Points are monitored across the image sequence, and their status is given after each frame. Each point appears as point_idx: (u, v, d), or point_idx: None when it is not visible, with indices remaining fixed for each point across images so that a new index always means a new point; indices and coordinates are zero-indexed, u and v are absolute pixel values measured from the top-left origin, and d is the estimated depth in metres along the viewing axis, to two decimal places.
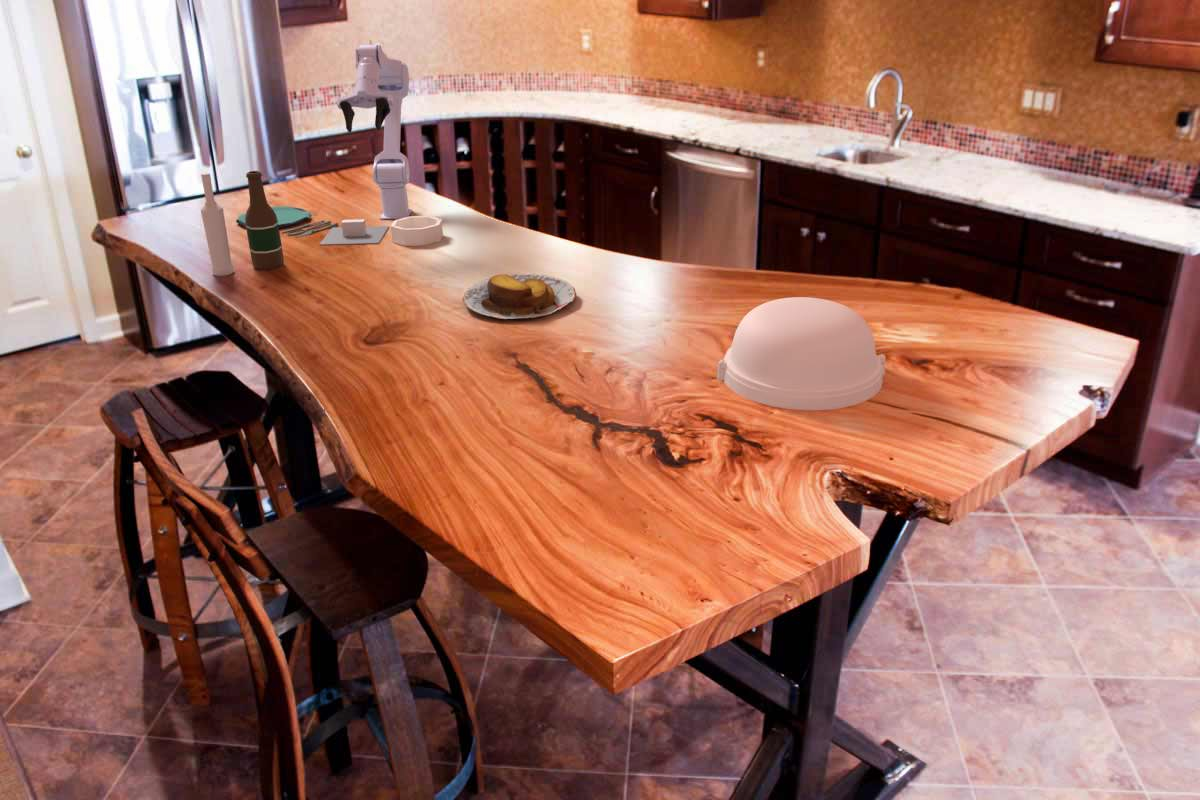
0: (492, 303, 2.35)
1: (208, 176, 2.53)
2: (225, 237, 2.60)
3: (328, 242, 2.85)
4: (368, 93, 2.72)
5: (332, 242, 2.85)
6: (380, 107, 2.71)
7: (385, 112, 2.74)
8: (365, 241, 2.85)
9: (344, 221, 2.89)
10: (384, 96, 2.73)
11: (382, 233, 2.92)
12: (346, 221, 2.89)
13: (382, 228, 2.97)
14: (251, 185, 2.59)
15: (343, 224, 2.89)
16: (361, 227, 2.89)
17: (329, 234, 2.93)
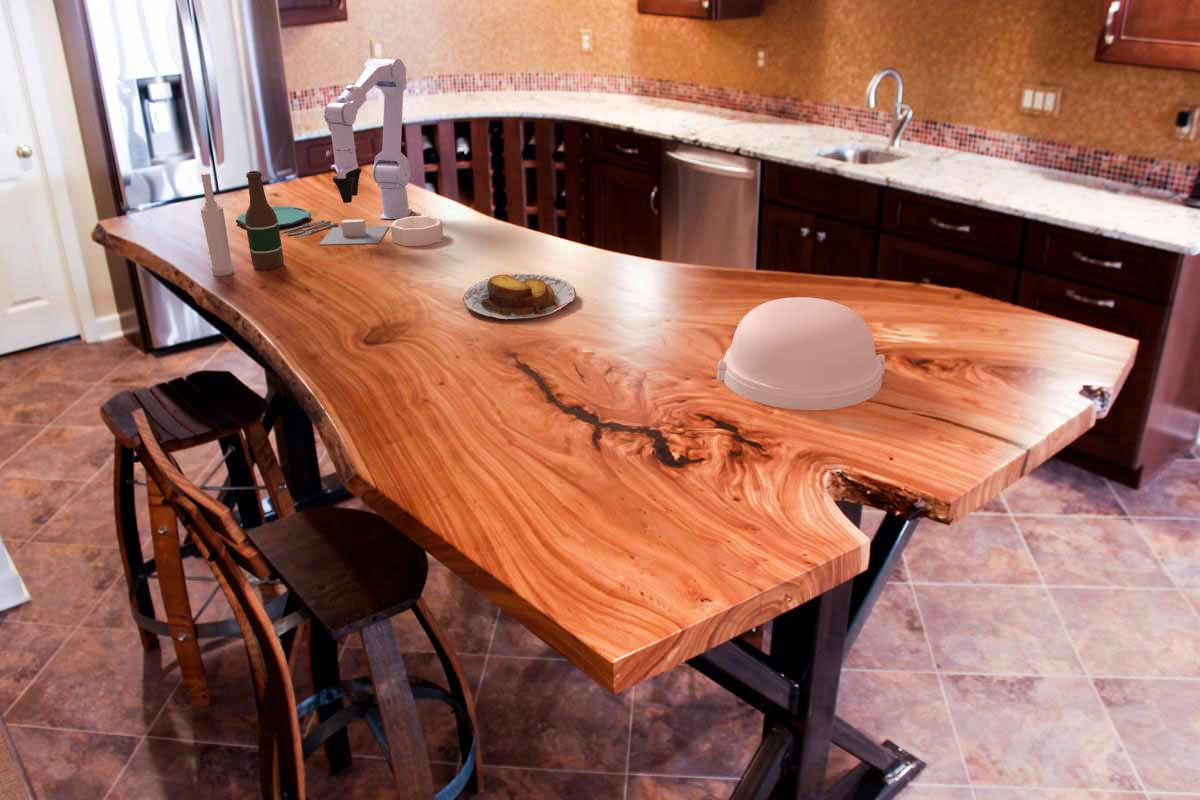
0: (492, 303, 2.35)
1: (208, 176, 2.53)
2: (225, 237, 2.60)
3: (328, 242, 2.85)
4: (335, 168, 2.82)
5: (332, 242, 2.85)
6: None
7: (348, 183, 2.80)
8: (365, 241, 2.85)
9: (344, 221, 2.89)
10: None
11: (382, 233, 2.92)
12: (346, 221, 2.89)
13: (383, 228, 2.97)
14: (251, 185, 2.59)
15: (343, 224, 2.89)
16: (361, 227, 2.89)
17: (329, 234, 2.93)
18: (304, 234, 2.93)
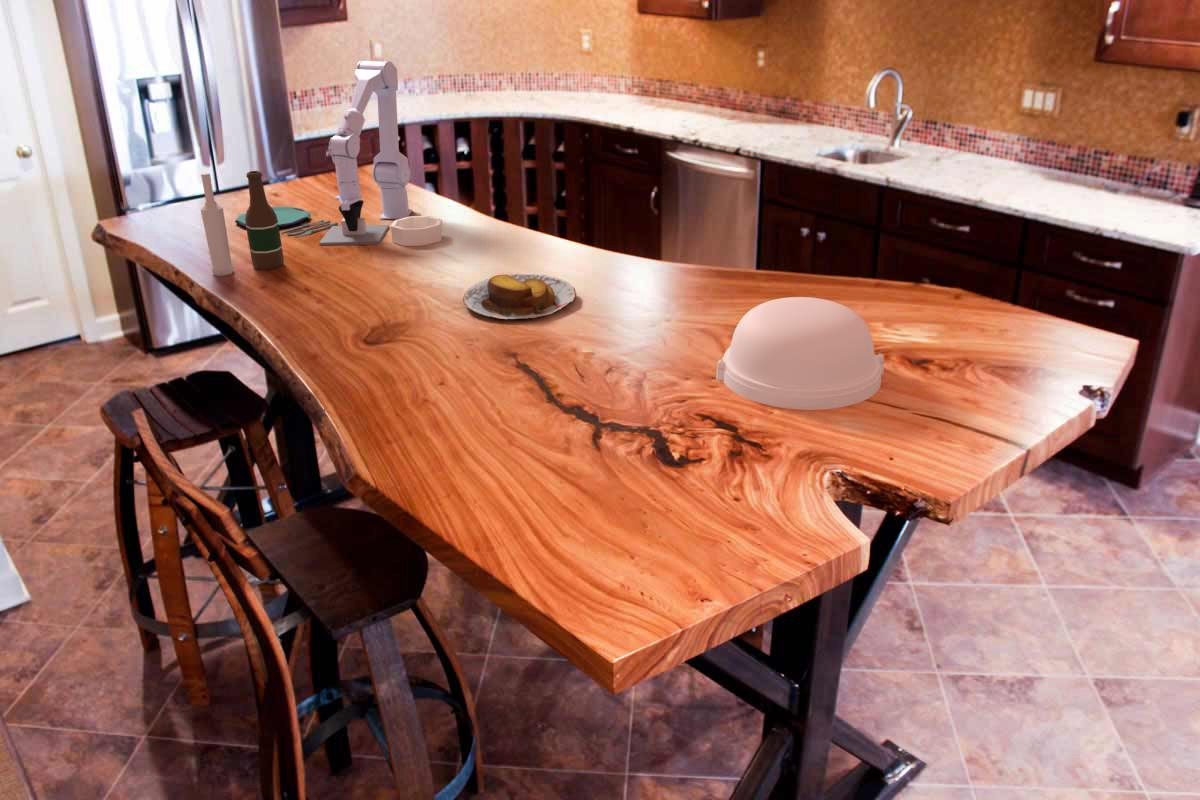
0: (492, 303, 2.35)
1: (208, 176, 2.53)
2: (225, 237, 2.60)
3: (328, 240, 2.85)
4: (339, 199, 2.85)
5: (332, 241, 2.85)
6: None
7: (354, 212, 2.86)
8: (365, 239, 2.85)
9: (344, 219, 2.89)
10: None
11: (382, 232, 2.92)
12: None
13: (382, 226, 2.97)
14: (251, 185, 2.59)
15: (343, 222, 2.89)
16: (361, 225, 2.89)
17: (329, 232, 2.92)
18: (304, 234, 2.93)
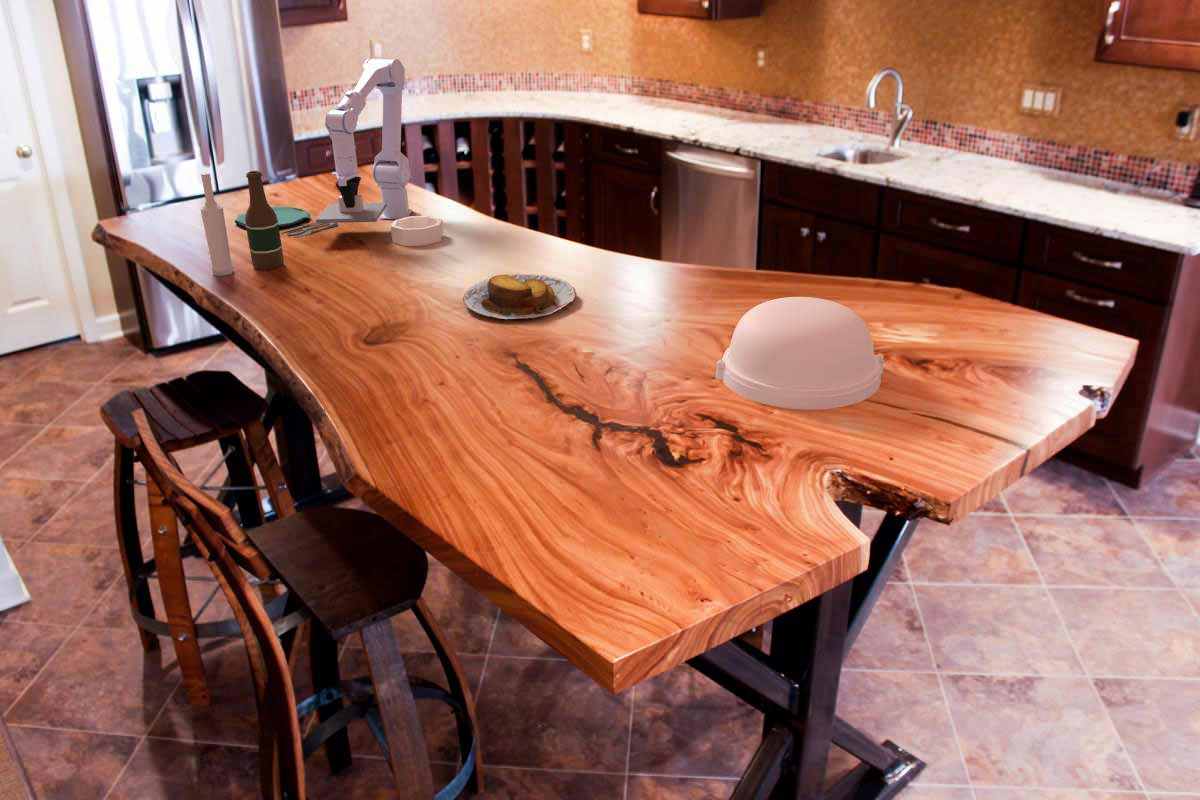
0: (492, 303, 2.35)
1: (208, 176, 2.53)
2: (225, 237, 2.60)
3: (325, 217, 2.83)
4: (336, 175, 2.83)
5: (329, 218, 2.82)
6: None
7: (351, 188, 2.83)
8: (362, 217, 2.83)
9: (341, 197, 2.86)
10: None
11: (379, 209, 2.89)
12: None
13: (380, 204, 2.94)
14: (251, 185, 2.59)
15: (340, 199, 2.86)
16: (358, 202, 2.86)
17: (326, 209, 2.90)
18: (304, 234, 2.93)
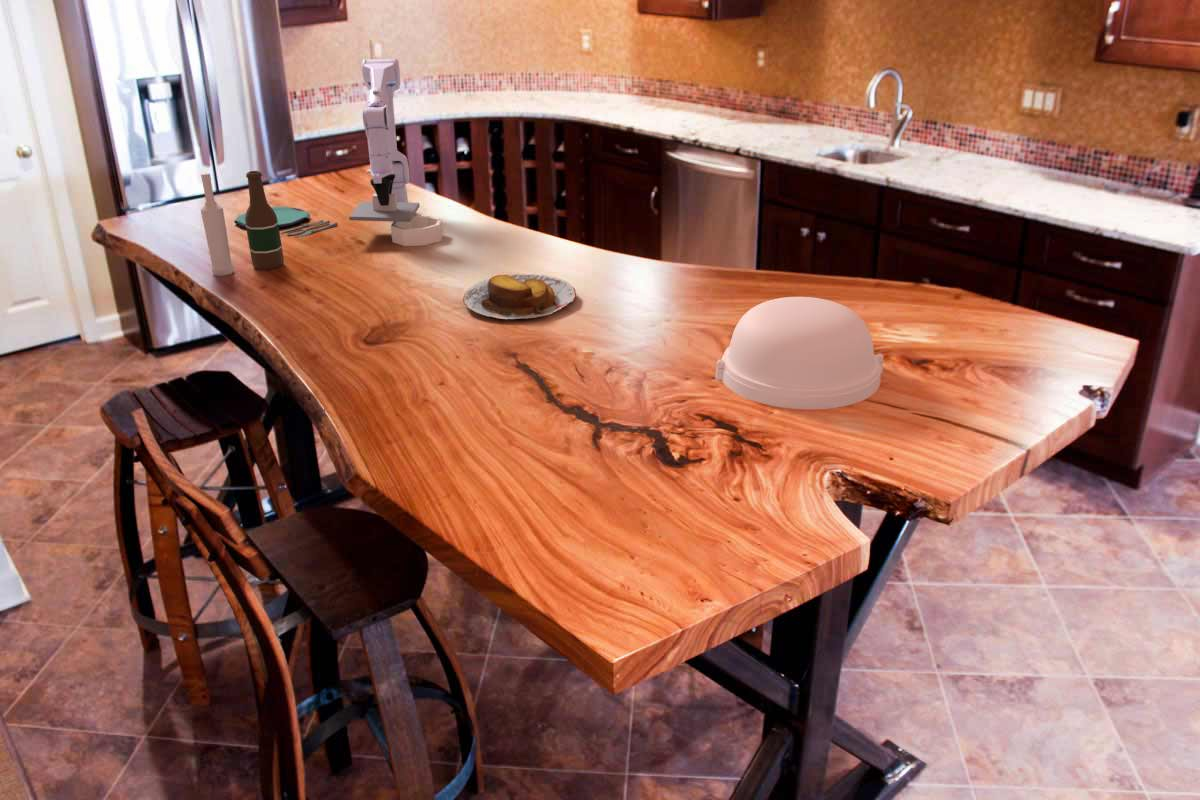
0: (492, 303, 2.35)
1: (208, 176, 2.53)
2: (225, 237, 2.60)
3: (358, 215, 2.80)
4: (370, 172, 2.80)
5: (362, 215, 2.80)
6: None
7: (385, 186, 2.80)
8: (396, 216, 2.80)
9: (375, 195, 2.84)
10: None
11: (413, 209, 2.87)
12: None
13: (413, 204, 2.92)
14: (251, 185, 2.59)
15: (374, 198, 2.83)
16: (392, 201, 2.84)
17: (359, 207, 2.87)
18: (304, 234, 2.93)
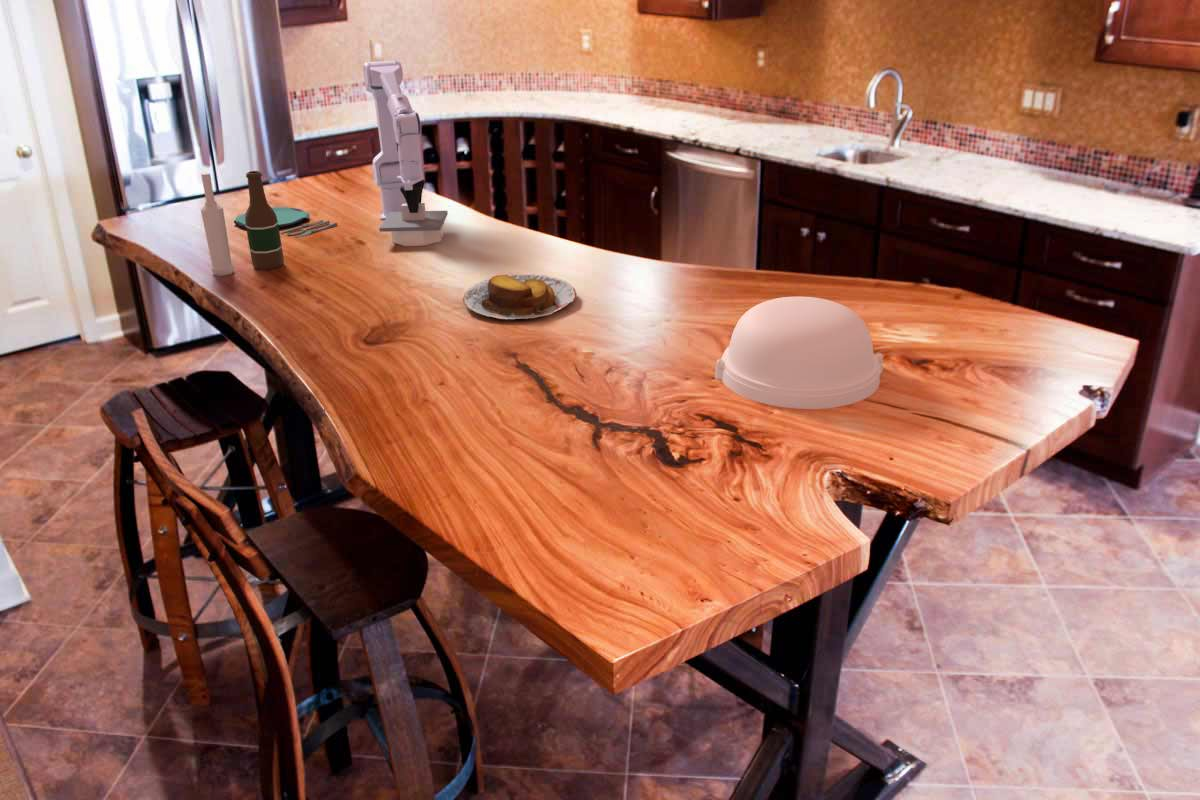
0: (492, 303, 2.35)
1: (208, 176, 2.53)
2: (225, 237, 2.60)
3: (388, 226, 2.80)
4: (401, 179, 2.79)
5: (392, 226, 2.79)
6: None
7: (415, 193, 2.79)
8: (426, 225, 2.80)
9: (404, 205, 2.83)
10: (404, 183, 2.76)
11: (442, 217, 2.86)
12: (406, 205, 2.83)
13: (441, 212, 2.91)
14: (251, 185, 2.58)
15: (403, 208, 2.83)
16: (421, 211, 2.83)
17: (388, 218, 2.87)
18: (304, 234, 2.93)
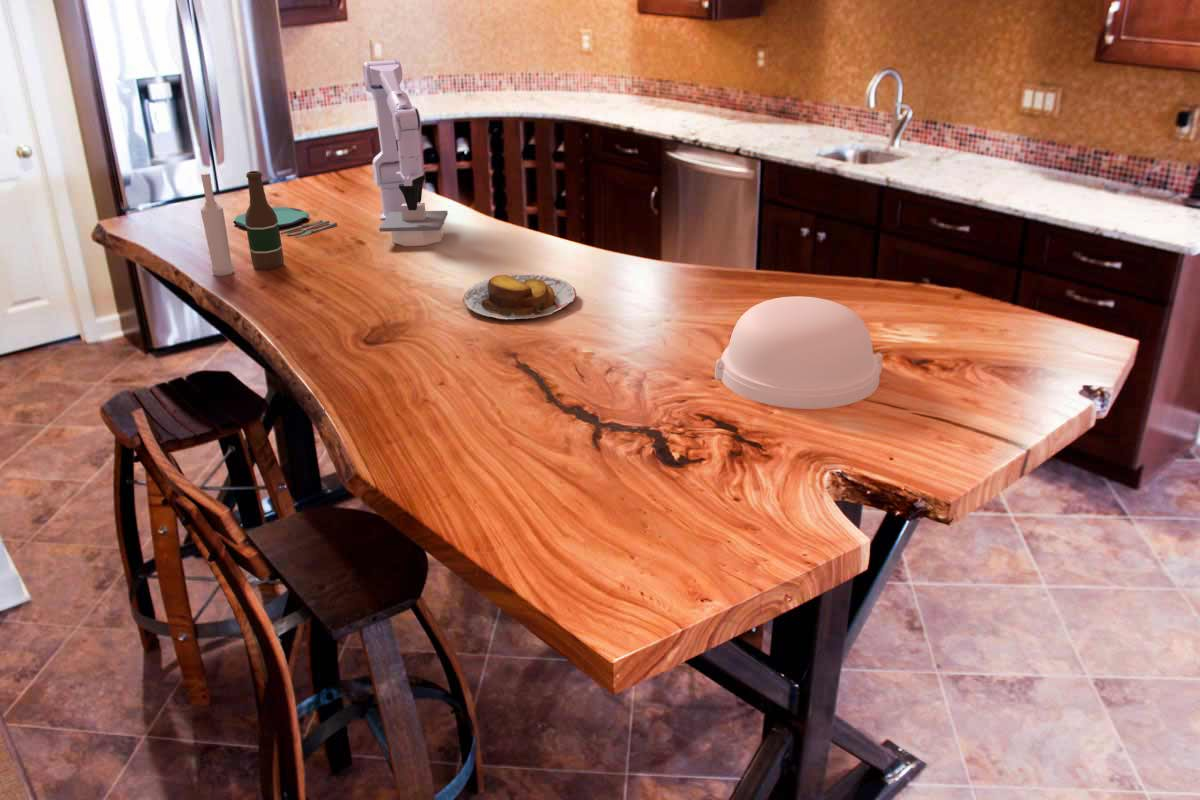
0: (492, 303, 2.35)
1: (208, 176, 2.53)
2: (225, 237, 2.60)
3: (388, 226, 2.80)
4: (400, 175, 2.79)
5: (392, 226, 2.79)
6: None
7: (414, 191, 2.77)
8: (426, 225, 2.80)
9: (404, 205, 2.83)
10: (403, 179, 2.75)
11: (442, 217, 2.86)
12: (406, 205, 2.83)
13: (441, 212, 2.91)
14: (251, 185, 2.58)
15: (403, 208, 2.83)
16: (421, 211, 2.83)
17: (388, 218, 2.87)
18: (304, 234, 2.93)
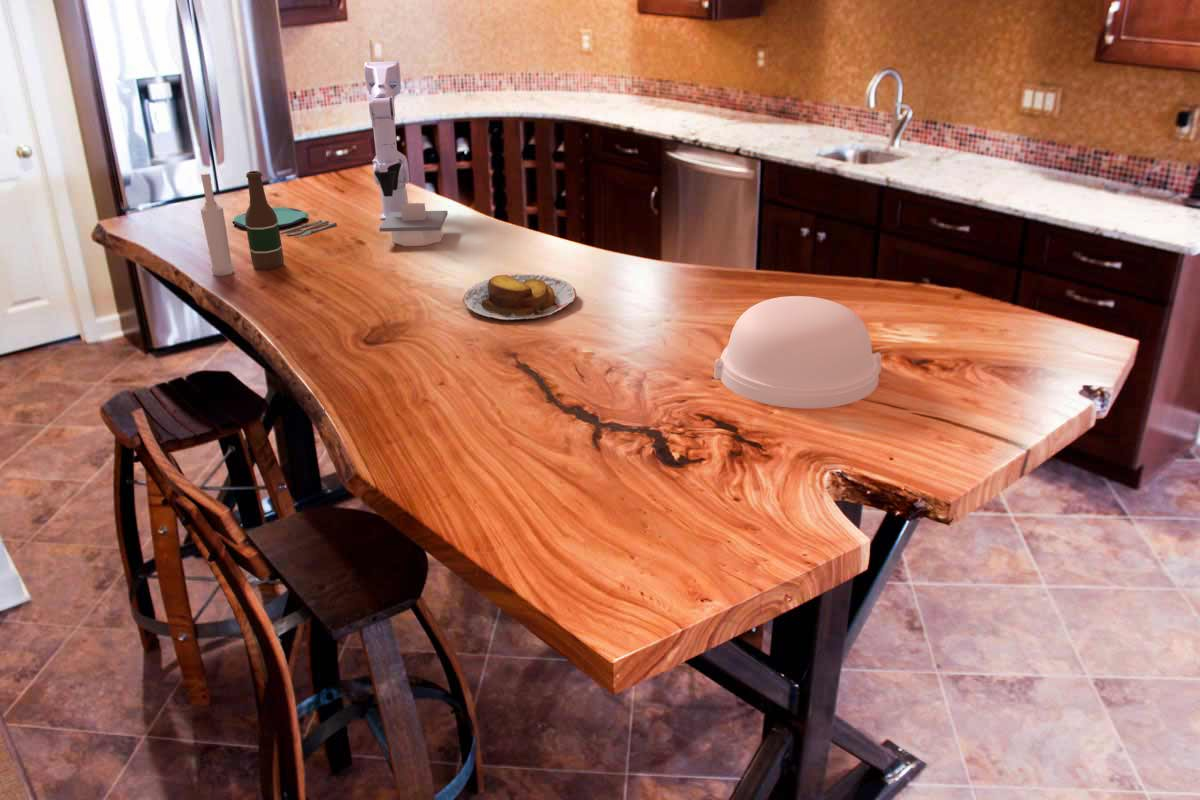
0: (492, 304, 2.35)
1: (208, 176, 2.53)
2: (225, 237, 2.60)
3: (388, 226, 2.80)
4: (376, 162, 2.87)
5: (392, 226, 2.79)
6: None
7: (389, 177, 2.85)
8: (426, 225, 2.80)
9: (404, 205, 2.83)
10: None
11: (442, 217, 2.86)
12: (406, 205, 2.83)
13: (441, 212, 2.91)
14: (251, 185, 2.59)
15: (403, 208, 2.83)
16: (421, 211, 2.83)
17: (388, 218, 2.87)
18: (304, 234, 2.93)
